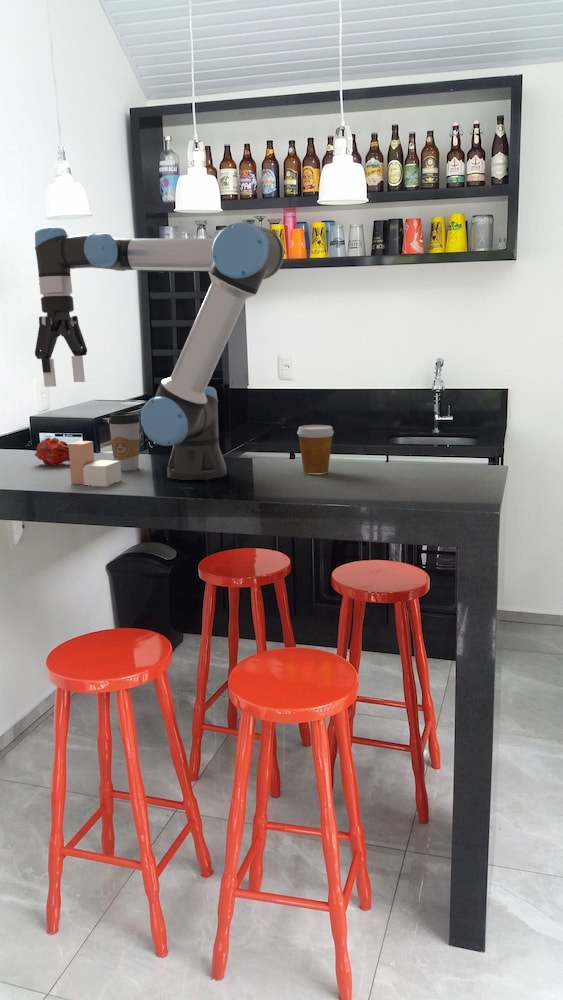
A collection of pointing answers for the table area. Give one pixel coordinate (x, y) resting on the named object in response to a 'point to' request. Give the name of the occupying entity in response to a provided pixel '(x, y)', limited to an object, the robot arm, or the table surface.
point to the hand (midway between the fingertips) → (65, 384)
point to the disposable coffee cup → (315, 447)
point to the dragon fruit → (53, 451)
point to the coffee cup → (125, 439)
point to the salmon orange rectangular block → (79, 459)
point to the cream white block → (102, 472)
